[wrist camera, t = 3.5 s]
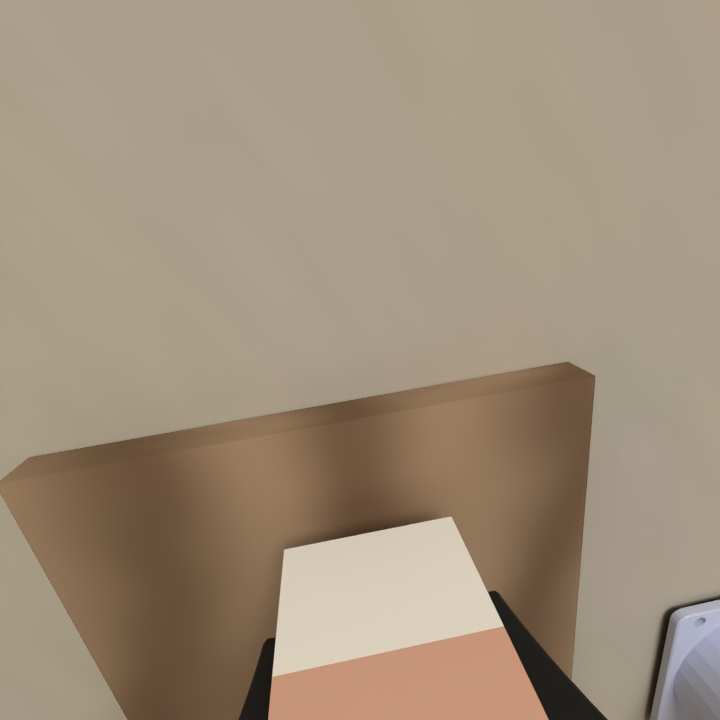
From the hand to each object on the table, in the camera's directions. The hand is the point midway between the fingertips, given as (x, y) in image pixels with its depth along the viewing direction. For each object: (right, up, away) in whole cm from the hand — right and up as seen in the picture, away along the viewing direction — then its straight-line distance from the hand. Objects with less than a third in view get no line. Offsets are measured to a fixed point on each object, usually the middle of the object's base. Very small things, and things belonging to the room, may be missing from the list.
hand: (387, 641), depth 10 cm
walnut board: (-1, -6, +6) cm, 8 cm away
